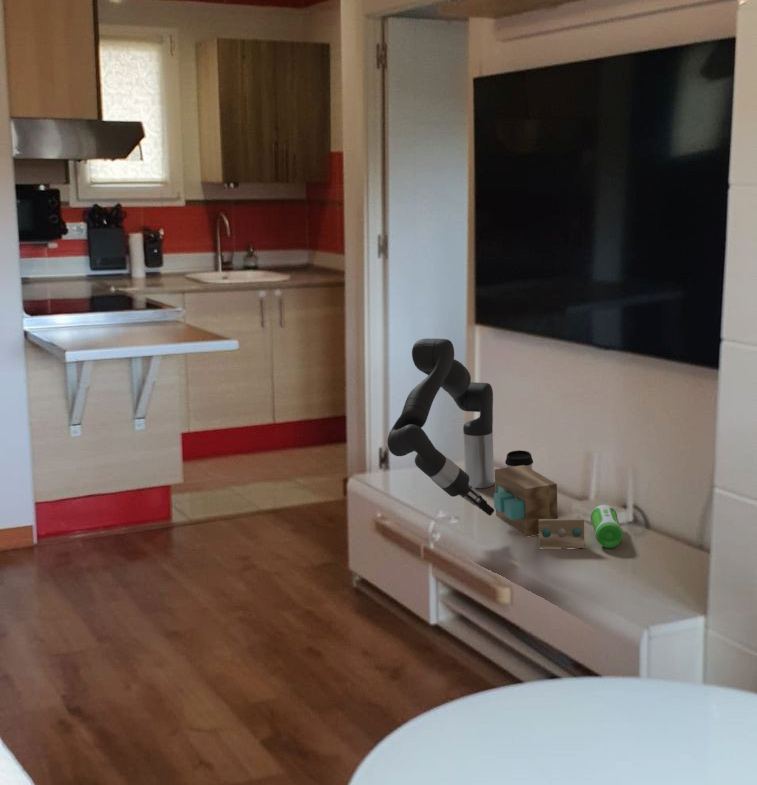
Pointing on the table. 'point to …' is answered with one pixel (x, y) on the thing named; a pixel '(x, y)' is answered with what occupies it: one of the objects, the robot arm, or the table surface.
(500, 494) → the button middle
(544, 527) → the board
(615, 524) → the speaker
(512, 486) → the button panel
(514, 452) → the coffee cup
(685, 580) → the table surface
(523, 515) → the button
